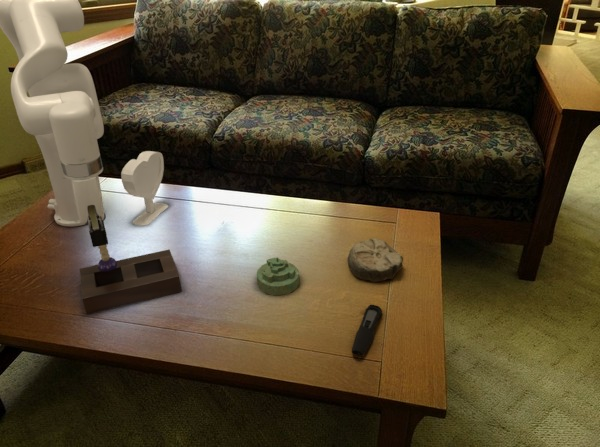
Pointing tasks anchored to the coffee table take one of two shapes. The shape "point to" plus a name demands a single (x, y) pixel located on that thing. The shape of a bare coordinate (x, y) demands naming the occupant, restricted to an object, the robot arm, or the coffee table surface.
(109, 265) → the toy lamp
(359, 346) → the electric trimmer
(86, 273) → the frame
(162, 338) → the coffee table surface
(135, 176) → the heart sculpture
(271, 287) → the decorative artifact
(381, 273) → the stone
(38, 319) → the coffee table surface
